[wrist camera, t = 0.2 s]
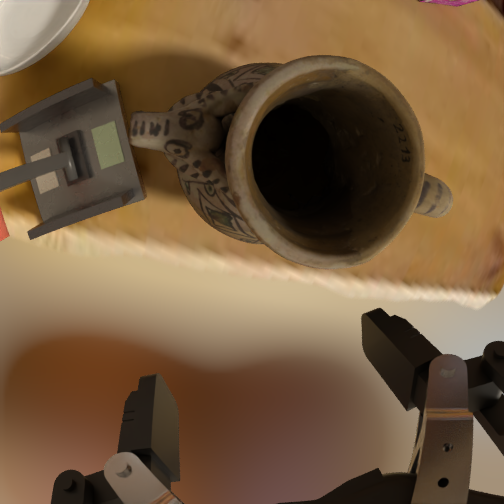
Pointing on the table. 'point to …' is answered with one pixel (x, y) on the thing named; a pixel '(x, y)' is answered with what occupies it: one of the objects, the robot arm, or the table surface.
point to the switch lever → (37, 173)
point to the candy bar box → (449, 2)
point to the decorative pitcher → (300, 158)
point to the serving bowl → (34, 29)
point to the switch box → (80, 153)
